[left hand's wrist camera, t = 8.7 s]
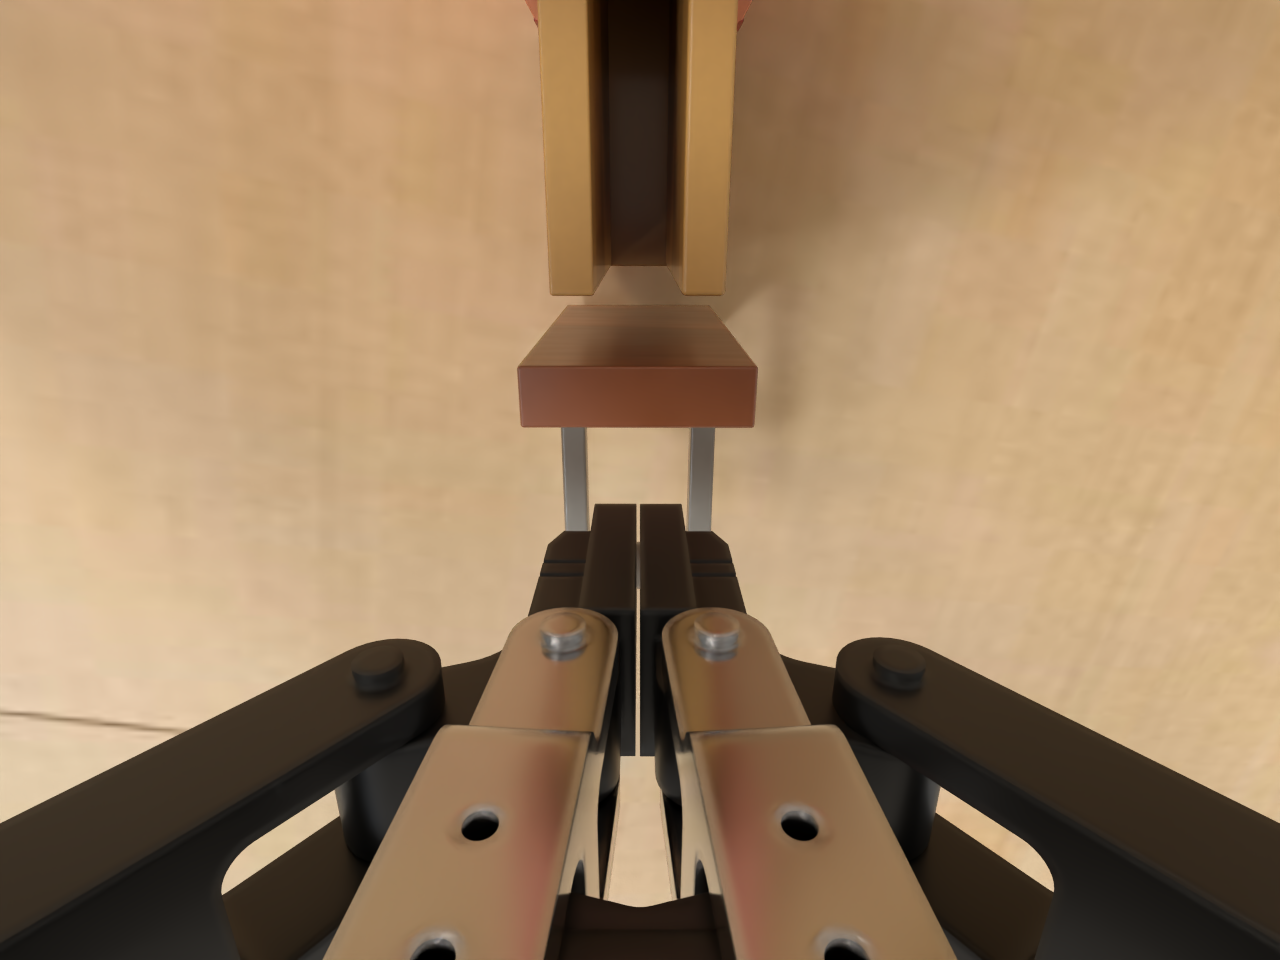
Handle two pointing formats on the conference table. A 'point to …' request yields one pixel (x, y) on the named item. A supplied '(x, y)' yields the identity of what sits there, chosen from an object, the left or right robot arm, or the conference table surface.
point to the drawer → (637, 231)
